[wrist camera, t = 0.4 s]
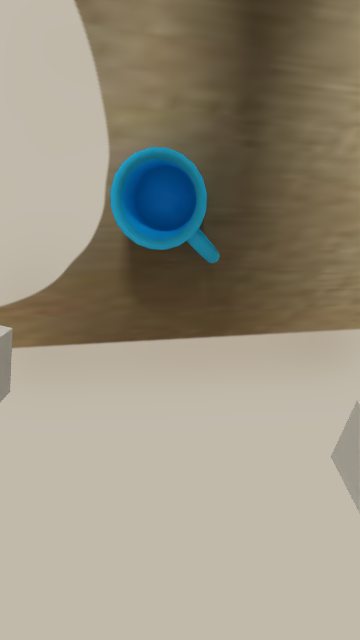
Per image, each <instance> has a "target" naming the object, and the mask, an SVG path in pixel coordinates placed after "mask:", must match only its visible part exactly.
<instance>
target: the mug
mask: <svg viewBox="0 0 360 640" xmlns="http://www.w3.org/2000/svg"><path fill="white" fill-rule="evenodd" d="M110 193H111V209H112V212H113V215H114V218H115V221H116V223H117V224H118V226H119V227H120V228H121V230H122V231H123V233H124V234H125V235H126V236H127V237H128V238H130V239H131V240H132V241H134V242H135V243H136V244H138V245H141V246H144V247H146V248H149V249H160V250H166V249H169V248H173V247H177V246H179V245H181V244H182V243H184V242H185V241H187V242H188V243H189V244H190V245H191V246H192V247H193V248H194V249H195V250H196V251H197V252H198V253H199V254H200V255H201V256H202V257H203V258H204V259H205V260H207V261H208V262H209V263H215V262H217V261H218V260H219V258H220V254H219V252H218V251H217V249H216V248H215V247H214V245H213V244H212V243H211V242H210V241H209V239H208V238H207V237H206V236H205V234H204V233H203V232H202V231H201V230H200V229H199V227H200V226H201V223H202V221H203V218H204V215H205V213H206V205H207V192H206V188H205V184H204V180H203V178H202V176H201V174H200V173H199V171H198V169H197V168H196V166H195V164H193V163H192V162H191V161H190V160H189V159H188V158H186V157H185V156H184V155H183V154H181V153H179V152H176V151H174V150H171V149H169V148H158V147H150V148H147V149H144V150H141V151H138V152H136V153H134V154H133V155H132V156H131V157H129V158H128V159H127V160H125V161H124V162H123V164H122V165H121V167H120V168H119V170H118V171H117V173H116V174H115V176H114V180H113V183H112V187H111V191H110Z"/></svg>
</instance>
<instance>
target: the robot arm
mask: <svg viewBox="0 0 360 640" xmlns="http://www.w3.org/2000/svg"><path fill="white" fill-rule="evenodd" d="M12 329H13V328H10V327H5V326H0V402H1V400H2V399H3V398H4V397H5V396H6V395H7V394H8V393H9V392H10V376H11V352H12ZM331 458H332V460H333V462H334V464H335V465H336V468H337V470H338V471H339V473H340V475H341V477H342V479H343V481H344V483H345V485H346V487H347V489H348V491H349V493H350V495H351V497H352V499H353V501H354V503H355V505H356V507H357V509H358V510H359V512H360V401H358V400H357V402H356V404H355V406H354V408H353V410H352V413H351V415H350V417H349V419H348V421H347V423H346V425H345V427H344V430H343V432H342V434H341V436H340V438H339V441H338V442H337V445H336V447H335V449H334V451H333V453H332V455H331Z"/></svg>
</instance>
